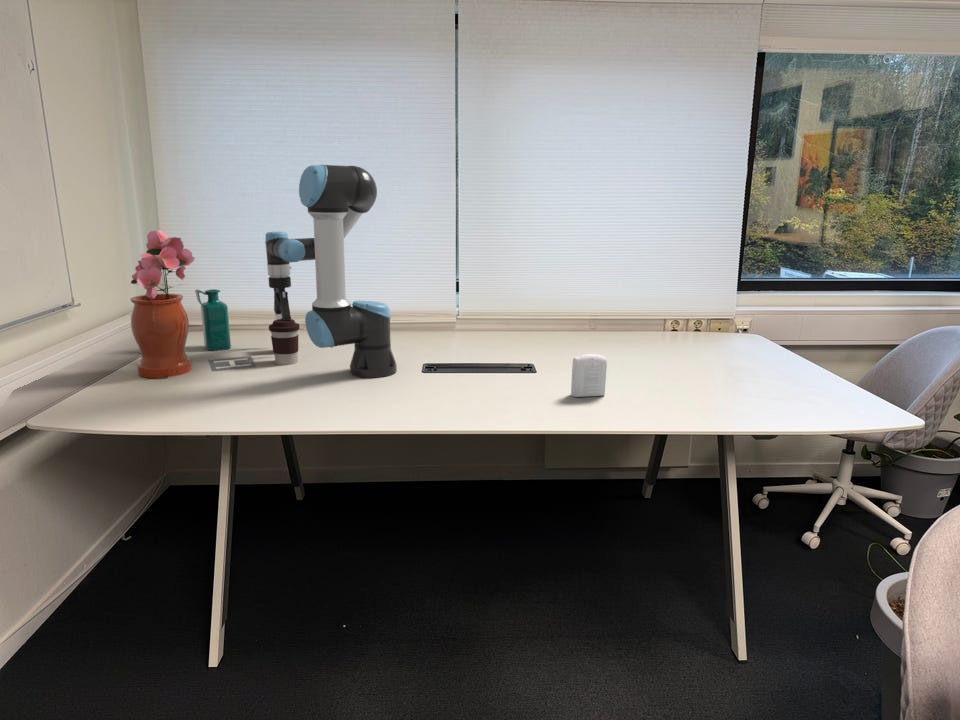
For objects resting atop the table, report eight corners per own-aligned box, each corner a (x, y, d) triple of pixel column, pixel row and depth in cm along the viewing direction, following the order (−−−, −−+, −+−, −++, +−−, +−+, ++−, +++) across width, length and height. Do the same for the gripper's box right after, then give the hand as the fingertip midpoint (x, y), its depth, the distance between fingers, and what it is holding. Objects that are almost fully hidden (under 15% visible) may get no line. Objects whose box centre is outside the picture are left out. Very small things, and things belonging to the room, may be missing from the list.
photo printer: (601, 392, 198) (603, 351, 195) (607, 396, 194) (609, 355, 191) (568, 394, 196) (570, 353, 193) (573, 398, 192) (575, 357, 189)
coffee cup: (265, 365, 224) (262, 322, 220) (282, 358, 233) (279, 316, 229) (291, 368, 221) (288, 324, 217) (307, 361, 230) (304, 318, 226)
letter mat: (257, 368, 221) (256, 366, 221) (212, 372, 215) (211, 371, 215) (250, 357, 235) (250, 355, 235) (208, 361, 229) (208, 359, 229)
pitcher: (227, 344, 253) (222, 287, 248) (232, 349, 246) (226, 290, 241) (200, 347, 248) (194, 288, 243) (204, 352, 241) (198, 292, 236)
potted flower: (210, 360, 230) (197, 228, 218) (189, 381, 205) (173, 233, 194) (153, 361, 227) (137, 228, 216) (125, 382, 203) (105, 233, 192)
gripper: (296, 279, 225) (301, 340, 230) (284, 272, 247) (288, 328, 252) (274, 280, 222) (278, 342, 227) (263, 273, 244) (267, 329, 249)
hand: (283, 335), depth 240 cm, fingers open, 13 cm apart
